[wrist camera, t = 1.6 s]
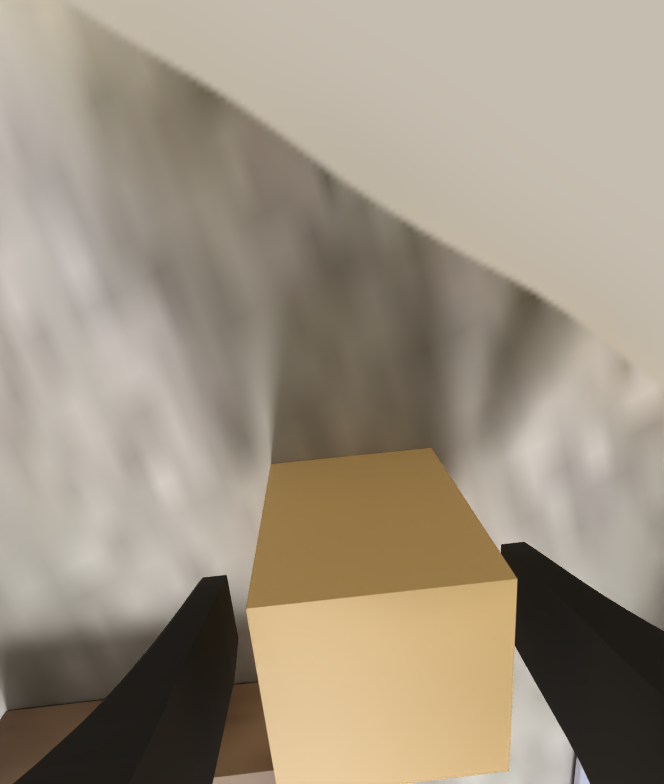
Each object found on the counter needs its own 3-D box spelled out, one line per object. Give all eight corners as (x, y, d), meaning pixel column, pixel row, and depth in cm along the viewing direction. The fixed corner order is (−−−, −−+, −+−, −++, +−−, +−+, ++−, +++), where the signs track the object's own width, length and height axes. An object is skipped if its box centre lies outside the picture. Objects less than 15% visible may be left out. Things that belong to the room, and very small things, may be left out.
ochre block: (430, 447, 14) (517, 578, 8) (434, 580, 15) (509, 770, 10) (270, 463, 14) (245, 608, 8) (289, 596, 15) (279, 799, 10)
